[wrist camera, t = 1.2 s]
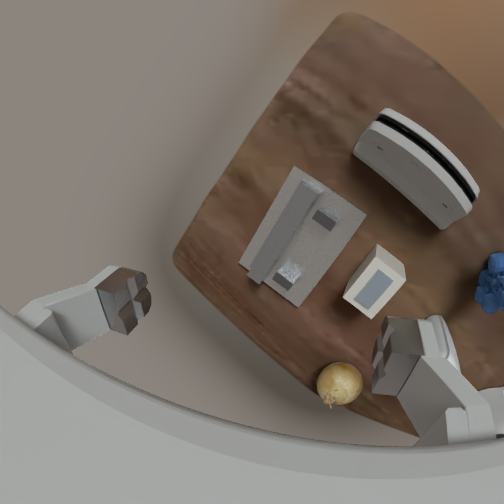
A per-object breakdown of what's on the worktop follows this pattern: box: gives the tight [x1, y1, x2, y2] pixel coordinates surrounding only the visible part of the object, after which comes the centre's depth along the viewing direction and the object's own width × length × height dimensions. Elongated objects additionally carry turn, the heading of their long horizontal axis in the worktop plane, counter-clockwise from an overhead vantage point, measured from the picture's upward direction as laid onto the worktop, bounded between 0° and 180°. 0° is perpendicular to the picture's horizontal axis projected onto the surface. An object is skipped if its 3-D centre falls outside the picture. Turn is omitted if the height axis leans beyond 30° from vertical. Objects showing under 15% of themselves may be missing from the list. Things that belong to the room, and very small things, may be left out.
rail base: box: [239, 166, 367, 307], centre depth 41 cm, size 12×18×4 cm, turn 151°
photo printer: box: [426, 315, 461, 373], centre depth 31 cm, size 10×4×12 cm, turn 37°
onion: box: [317, 362, 363, 409], centre depth 42 cm, size 8×8×7 cm
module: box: [343, 244, 406, 319], centre depth 36 cm, size 5×7×6 cm
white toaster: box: [352, 108, 480, 230], centre depth 29 cm, size 17×5×10 cm, turn 57°
